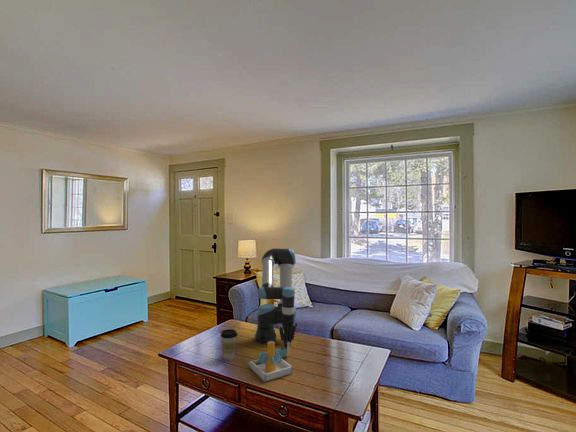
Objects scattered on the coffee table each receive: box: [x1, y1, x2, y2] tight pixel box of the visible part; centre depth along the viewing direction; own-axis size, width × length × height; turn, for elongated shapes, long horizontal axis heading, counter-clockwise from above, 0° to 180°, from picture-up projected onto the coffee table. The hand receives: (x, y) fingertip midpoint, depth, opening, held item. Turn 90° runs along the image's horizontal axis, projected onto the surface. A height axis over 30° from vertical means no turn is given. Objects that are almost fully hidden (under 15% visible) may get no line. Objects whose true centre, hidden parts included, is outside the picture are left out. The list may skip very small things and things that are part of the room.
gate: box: [258, 345, 288, 364], centre depth 180 cm, size 18×2×6 cm, turn 122°
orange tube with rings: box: [260, 341, 281, 372], centre depth 167 cm, size 12×10×15 cm
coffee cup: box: [220, 328, 238, 360], centre depth 182 cm, size 10×10×15 cm
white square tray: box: [246, 355, 294, 383], centre depth 169 cm, size 17×21×4 cm
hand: (287, 352), depth 185 cm, fingers closed
